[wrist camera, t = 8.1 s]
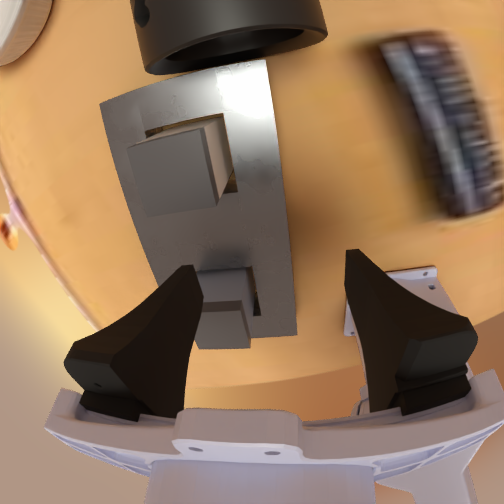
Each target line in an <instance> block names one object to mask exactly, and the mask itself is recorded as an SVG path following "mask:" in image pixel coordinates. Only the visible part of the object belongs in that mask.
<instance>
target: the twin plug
mask: <svg viewBox="0 0 504 504" xmlns="http://www.w3.org/2000/svg"><path fill="white" fill-rule="evenodd" d="M197 277H198V281H199V284H200V286H201V289H202V292H203V295H204V299H203V307H202V313H201V317H200V321H199V324H198V328H197V331H196V335H195V338H194V340H195V342H196V344H197V346H198V348H199V349H245V348H250V345H251V334H252V323H253V311H254V300H255V283H254V278H253V272H252V267H251V266H250V267H239V268H227V269H215V270H203V271H197Z"/></svg>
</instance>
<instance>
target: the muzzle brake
mask: <svg viewBox="0 0 504 504" xmlns="http://www.w3.org/2000/svg"><path fill="white" fill-rule="evenodd" d="M130 3H131V9H132V14H133V19H134V24H135V28H136V33H137V38H138V42H139V47H140V51H141V56H142V60H143V64H144V68H145V71H146V72H147V73H150V74H154V75H167V74H175V73H182V72H188V71H194V70H199V69H205V68H210V67H215V66H220V65H225V64H230V63H235V62H239V61H244V60H249V59H255V58H260V57H265V56H270V55H275V54H279V53H284V52H288V51H293V50H297V49H301V48H305V47H308V46H312V45H314V44H317V43H320V42H321V41H323V40H324V39H325V38H326V37H327V35H328V32H327V28H326V24H325V20H324V16H323V12H322V9H321V5H320V2H319V0H130Z"/></svg>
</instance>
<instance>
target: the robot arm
mask: <svg viewBox="0 0 504 504" xmlns="http://www.w3.org/2000/svg"><path fill="white" fill-rule="evenodd" d="M437 272H438V270H437V268H436V267H426V268H419V269H412V270H404V271H396V272H388V273H385V272H383V271H382V270H381V269H380V268H379V267H378V266H377V265H375V264H374V263H373V262H372V261H371V260H370V259H369V258H368V257H367V256H366V255H365V254H364V253H363V252H361V251H360V250H359V249H352V250H346V263H345V283H344V286H345V291H346V296H347V302H346V313H345V323H344V335H345V336H356V340H357V344H358V348H359V352H360V357H361V361H362V366H363V370H364V375H365V380H366V385H365V386H363V387H361V388H360V395H361V400H360V401H358V402H357V403H355V405H354V406H353V409H352V412H351V416H349V417H342V418H334V419H326V420H316V421H304V422H302V420H301V419H300V418H299V417H298V416H297V415H296V414H294V413H291V412H288V411H285V410H273V409H211V408H186V409H184V397H185V386H186V377H187V369H188V363H189V357H190V353H191V349H192V345H193V342H194V338H195V335H196V331H197V328H198V324H199V321H200V317H201V313H202V307H203V299H204V295H203V292H202V289H201V286H200V284H199V281H198V277H197V274H196V271H195V268H194V265H193V264H192V265H182V266H180V267H179V268H178V269H177V270H176V271H175V272H174V273H173V274H172V275H171V276H170V277H169V278H168V279H167V280H166V281H165V282H164V283H162V284H161V285H160V286H159V287H158V288H157V289H156V290H155V291H154V292H153V293H152V294H151V295H150V296H149V297H148V298H146V299H145V300H144V301H143V302H142V303H141V304H140V305H138V306H137V307H136V308H134V309H133V310H132V311H130V312H129V313H128V314H126V315H125V316H123V317H122V318H120V319H119V320H117V321H116V322H114V323H113V324H111V325H109V326H108V327H106V328H104V329H102V330H100V331H98V332H96V333H94V334H92V335H90V336H87V337H85V338H83V339H81V340H78V341H75V342H74V343H73V345H72V347H71V349H70V351H69V353H68V354H67V356H66V358H65V360H64V366H65V368H66V370H67V372H68V373H69V374H70V375H71V377H72V378H73V379H75V381H76V382H77V383H78V384H79V385H80V386H81V387H82V388H83V389H84V393H83V395H81V394H79V393H77V392H75V391H71V390H68V389H65V388H61V389H60V392H59V394H58V396H57V398H56V400H55V402H54V405H53V407H52V409H51V411H50V414H49V416H48V418H47V421H46V423H45V426H44V429H45V430H47V431H48V432H49V433H51V434H52V435H54V436H55V437H56V438H58V439H60V440H61V441H63V442H64V443H65V444H67V445H68V446H70V447H71V448H73V449H74V450H76V451H79V452H81V453H84V454H86V455H88V456H91V457H93V458H96V459H99V460H101V461H104V462H106V463H109V464H111V465H114V466H117V467H120V468H123V469H126V470H128V471H132V472H135V473H138V474H141V475H144V476H148V477H150V478H149V482H148V487H147V491H146V496H145V501H144V504H376V500H375V487H374V482H377V483H378V484H381V485H384V486H388V487H391V488H395V489H400V490H404V491H407V492H410V493H412V495H413V498H414V501H415V504H478V502H477V497H476V494H475V489H474V486H473V482H472V478H471V475H470V471H469V467H468V464H469V462H470V461H471V459H472V458H473V456H474V455H475V453H476V452H477V451H478V449H479V448H480V446H481V444H482V443H483V441H484V440H485V439H486V438H487V437H488V436H490V435H491V434H492V433H493V432H495V431H496V430H497V429H498V428H500V427H501V426H502V425H503V424H504V392H503V389H502V387H501V384H500V382H499V379H498V377H497V375H496V373H495V370H494V369H490V370H487V371H485V372H483V373H480V374H477V375H475V376H474V375H473V373H472V371H471V369H470V367H469V364H468V363H467V360H468V359H469V357H470V356H471V354H472V352H473V351H474V349H475V347H476V345H477V341H478V336H477V333H476V331H475V330H474V328H473V326H472V324H471V322H470V321H469V319H468V318H467V317H464V316H461V315H459V314H458V312H457V310H456V308H455V307H454V305H453V303H452V302H451V300H450V298H449V297H448V295H447V293H446V292H445V290H444V288H443V287H442V285H441V284H440V282H439V281H438V279H437V277H436V276H437Z"/></svg>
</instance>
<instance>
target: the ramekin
mask: <svg viewBox="0 0 504 504" xmlns="http://www.w3.org/2000/svg"><path fill="white" fill-rule="evenodd" d="M51 5H52V0H0V66H3V65H6V64H8V63H11V62H13V61H14V60H16V59H18V58H19V57H20V56H21V55H23V54H24V53H25V52H26V51H27V50H28V49H29V48H30V47H31V45H32V44H33V43H34V42H35V40H36V39H37V37H38V36H39V34H40V33H41V31H42V29H43V27H44V25H45V23H46V21H47V18H48V16H49V13H50V9H51Z"/></svg>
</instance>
